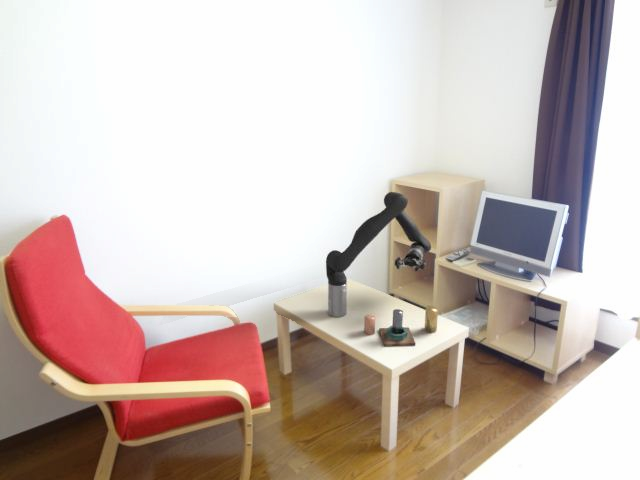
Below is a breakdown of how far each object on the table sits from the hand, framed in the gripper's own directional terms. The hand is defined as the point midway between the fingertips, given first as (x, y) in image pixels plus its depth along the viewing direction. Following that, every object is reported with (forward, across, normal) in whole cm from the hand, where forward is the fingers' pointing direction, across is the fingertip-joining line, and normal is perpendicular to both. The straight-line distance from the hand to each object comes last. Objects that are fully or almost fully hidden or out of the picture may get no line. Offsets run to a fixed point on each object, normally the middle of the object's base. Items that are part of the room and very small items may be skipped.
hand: (406, 268), depth 212 cm
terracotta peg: (+16, -13, +28) cm, 35 cm away
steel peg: (+16, 0, +27) cm, 31 cm away
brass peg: (+4, +13, +28) cm, 31 cm away
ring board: (+16, 0, +28) cm, 33 cm away
